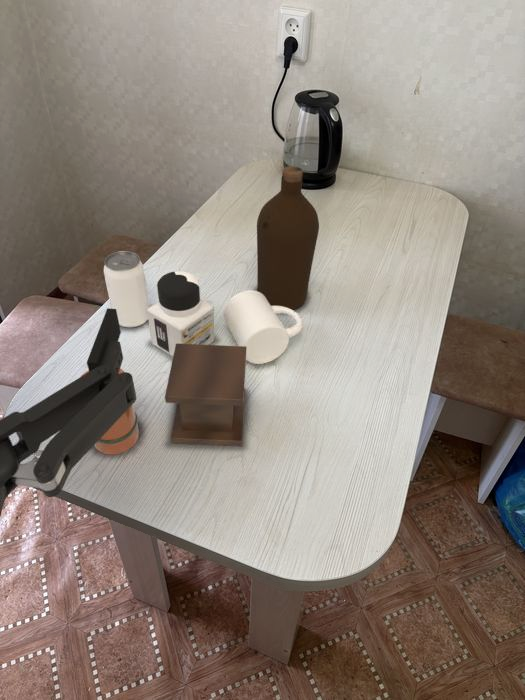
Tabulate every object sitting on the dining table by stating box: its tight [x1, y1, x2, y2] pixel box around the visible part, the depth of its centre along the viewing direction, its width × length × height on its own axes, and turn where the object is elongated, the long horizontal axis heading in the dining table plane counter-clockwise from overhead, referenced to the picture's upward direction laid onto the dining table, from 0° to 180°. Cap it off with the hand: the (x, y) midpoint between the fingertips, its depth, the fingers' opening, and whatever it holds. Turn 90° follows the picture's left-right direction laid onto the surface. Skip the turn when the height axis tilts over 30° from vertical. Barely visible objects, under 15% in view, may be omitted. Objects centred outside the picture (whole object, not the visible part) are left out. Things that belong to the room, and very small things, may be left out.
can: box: [103, 250, 150, 329], centre depth 86 cm, size 6×6×12 cm
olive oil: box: [256, 165, 320, 311], centre depth 88 cm, size 11×11×25 cm
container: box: [147, 270, 216, 357], centre depth 82 cm, size 8×8×13 cm
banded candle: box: [81, 368, 140, 456], centre depth 67 cm, size 7×7×14 cm
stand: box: [164, 344, 247, 447], centre depth 71 cm, size 10×10×10 cm
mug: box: [223, 289, 304, 365], centre depth 84 cm, size 12×10×8 cm
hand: (35, 316), depth 44 cm, fingers open, 13 cm apart
